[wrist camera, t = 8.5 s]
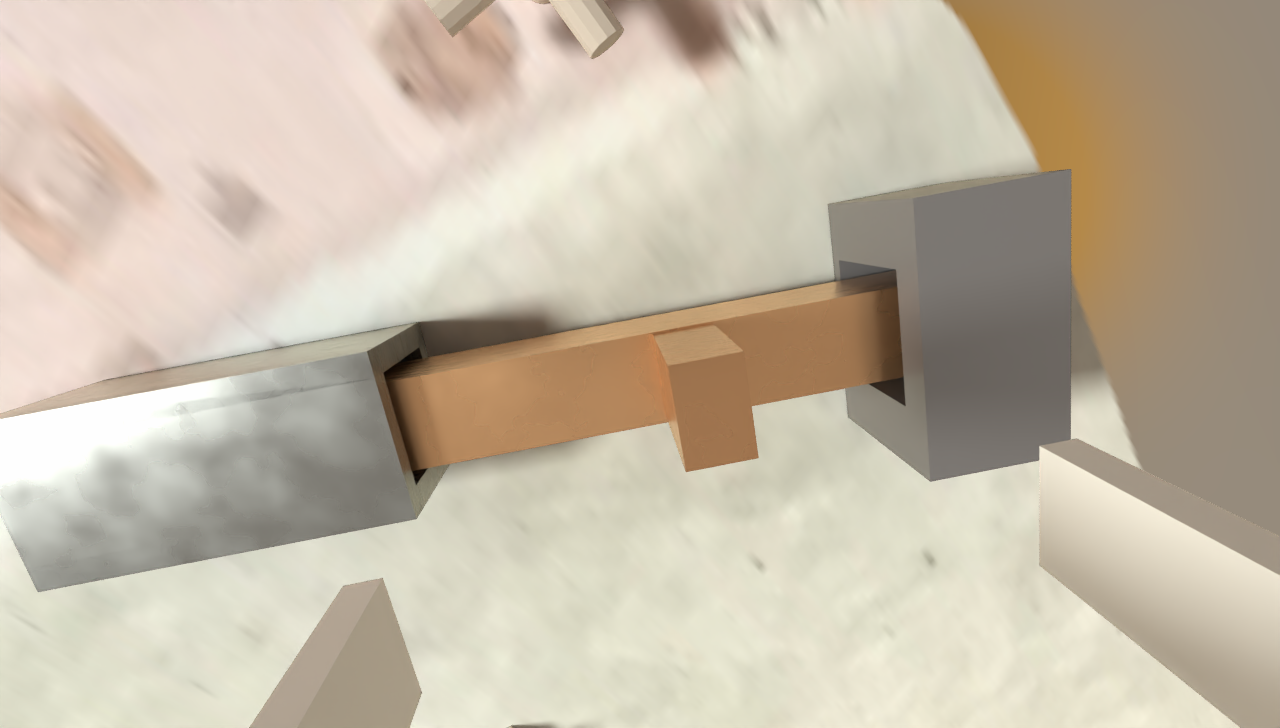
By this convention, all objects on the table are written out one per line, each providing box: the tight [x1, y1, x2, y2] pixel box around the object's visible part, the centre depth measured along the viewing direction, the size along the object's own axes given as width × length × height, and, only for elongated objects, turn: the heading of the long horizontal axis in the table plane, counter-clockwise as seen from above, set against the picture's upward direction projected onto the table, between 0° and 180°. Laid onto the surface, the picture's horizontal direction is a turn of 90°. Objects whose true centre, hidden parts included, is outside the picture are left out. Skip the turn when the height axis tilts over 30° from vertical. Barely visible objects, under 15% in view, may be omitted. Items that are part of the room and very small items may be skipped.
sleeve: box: [0, 322, 450, 592], centre depth 29 cm, size 8×17×8 cm, turn 100°
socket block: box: [828, 169, 1071, 482], centre depth 30 cm, size 12×6×9 cm, turn 10°
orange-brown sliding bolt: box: [383, 270, 904, 472], centre depth 27 cm, size 4×30×10 cm, turn 100°
